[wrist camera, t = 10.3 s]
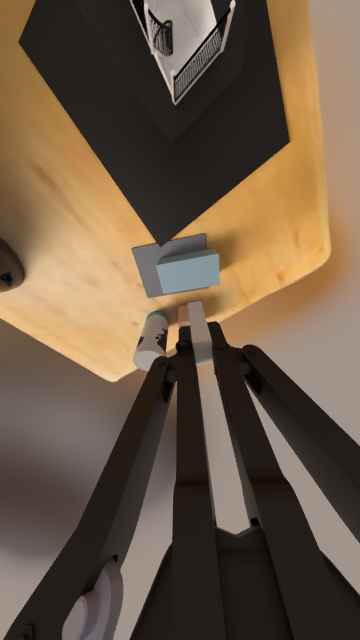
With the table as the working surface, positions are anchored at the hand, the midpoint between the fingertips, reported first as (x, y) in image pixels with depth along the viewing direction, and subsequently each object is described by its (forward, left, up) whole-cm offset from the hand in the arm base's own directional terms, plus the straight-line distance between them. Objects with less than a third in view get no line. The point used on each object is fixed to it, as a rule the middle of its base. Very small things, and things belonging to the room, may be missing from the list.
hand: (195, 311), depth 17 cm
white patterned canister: (-11, -14, -21) cm, 27 cm away
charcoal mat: (-3, 0, -20) cm, 21 cm away
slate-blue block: (+6, 0, -17) cm, 18 cm away
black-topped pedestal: (+1, +23, -20) cm, 31 cm away
